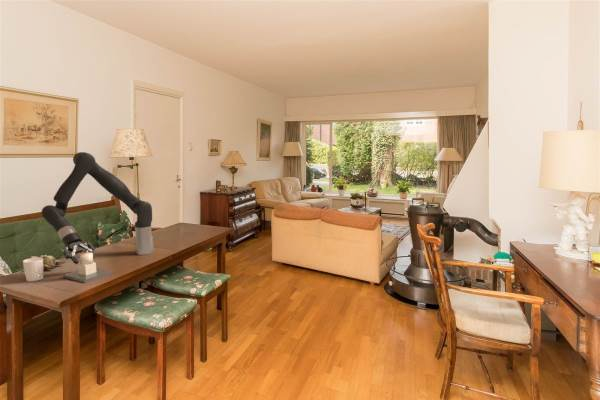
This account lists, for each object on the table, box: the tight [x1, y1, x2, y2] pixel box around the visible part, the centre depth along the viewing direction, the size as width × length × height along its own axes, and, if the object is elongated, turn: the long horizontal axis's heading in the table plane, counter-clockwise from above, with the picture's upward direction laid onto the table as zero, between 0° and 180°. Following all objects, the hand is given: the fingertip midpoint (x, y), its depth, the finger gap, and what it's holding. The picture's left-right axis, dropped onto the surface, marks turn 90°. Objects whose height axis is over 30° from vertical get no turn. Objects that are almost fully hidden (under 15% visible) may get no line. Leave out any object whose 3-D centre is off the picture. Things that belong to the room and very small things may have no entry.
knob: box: [77, 252, 97, 275], centre depth 171 cm, size 6×6×10 cm
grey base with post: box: [63, 267, 112, 284], centre depth 172 cm, size 14×16×6 cm
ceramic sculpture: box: [30, 253, 66, 271], centre depth 182 cm, size 11×9×15 cm
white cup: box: [22, 256, 44, 283], centre depth 166 cm, size 8×8×10 cm
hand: (85, 260), depth 171 cm, fingers open, 8 cm apart
